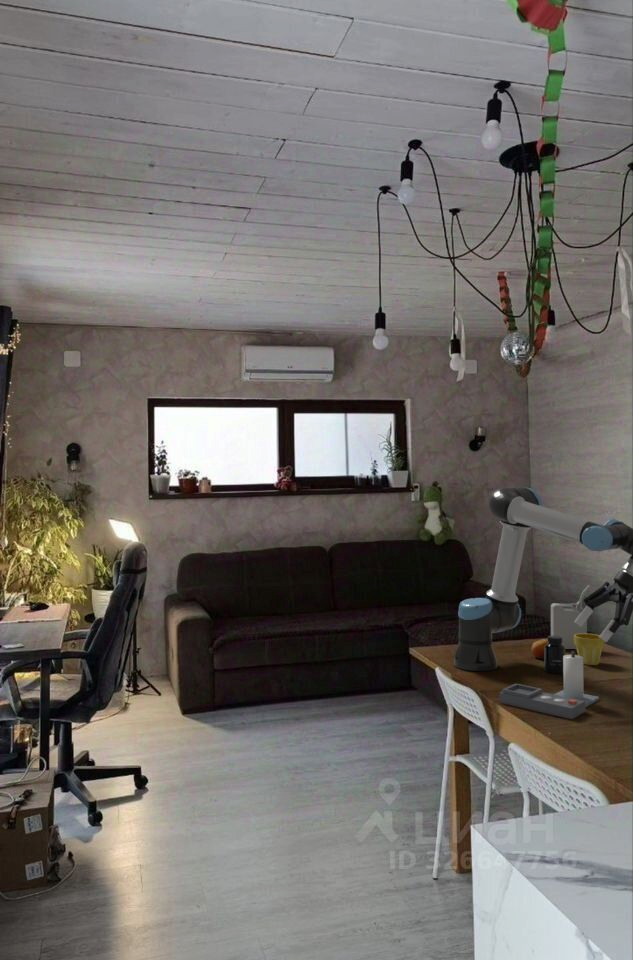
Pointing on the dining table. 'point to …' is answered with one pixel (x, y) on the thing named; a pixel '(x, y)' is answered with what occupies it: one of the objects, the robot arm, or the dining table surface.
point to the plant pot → (589, 647)
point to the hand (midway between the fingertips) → (589, 631)
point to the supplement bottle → (554, 655)
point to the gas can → (567, 621)
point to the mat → (588, 698)
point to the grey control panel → (541, 701)
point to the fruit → (539, 648)
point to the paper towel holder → (573, 676)
